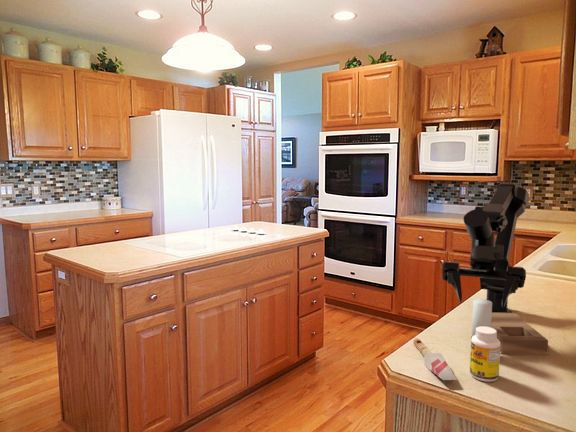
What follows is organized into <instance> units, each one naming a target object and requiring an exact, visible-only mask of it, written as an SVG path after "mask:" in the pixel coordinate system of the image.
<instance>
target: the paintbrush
mask: <svg viewBox="0 0 576 432" xmlns="http://www.w3.org/2000/svg"><path fill="white" fill-rule="evenodd" d="M413 345H414V346H415V347H416V349H417V350H418V351H420V353H421V354H422V355H423V357H424V363H423V365H424V367H425V368H427V369H428V370H429V371H431V372H432V373H433V374H434V375H436V376H437V377H439V379H440V380H441V379H442V381H457V380H458V379H457V378H456V376H455V374H454V373H453V371H452V370H451V368H450V366H449V364H448V363H447V361H446V360H445V358H444V356H443V355H442V353H441V352H432V351H431V350H430V349H429V348H428V347H427V346H426V344H424V343H423V341H422V340H421V339H419V338H415V339H414V340H413Z"/></svg>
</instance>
